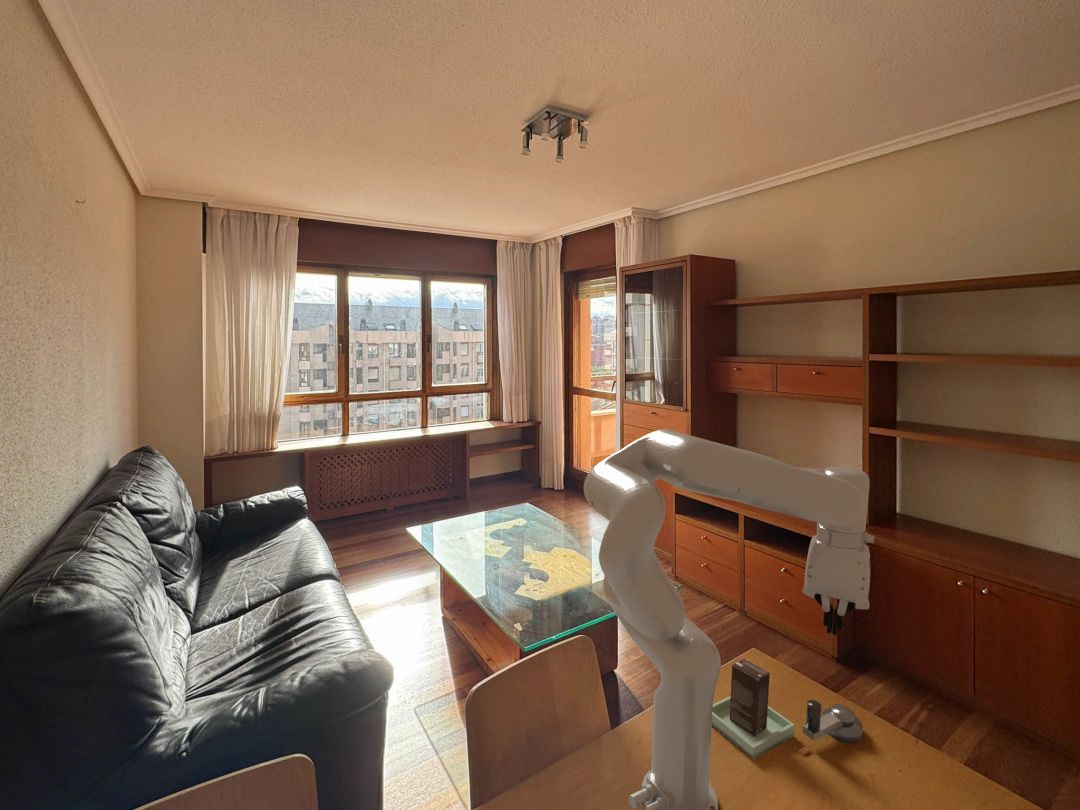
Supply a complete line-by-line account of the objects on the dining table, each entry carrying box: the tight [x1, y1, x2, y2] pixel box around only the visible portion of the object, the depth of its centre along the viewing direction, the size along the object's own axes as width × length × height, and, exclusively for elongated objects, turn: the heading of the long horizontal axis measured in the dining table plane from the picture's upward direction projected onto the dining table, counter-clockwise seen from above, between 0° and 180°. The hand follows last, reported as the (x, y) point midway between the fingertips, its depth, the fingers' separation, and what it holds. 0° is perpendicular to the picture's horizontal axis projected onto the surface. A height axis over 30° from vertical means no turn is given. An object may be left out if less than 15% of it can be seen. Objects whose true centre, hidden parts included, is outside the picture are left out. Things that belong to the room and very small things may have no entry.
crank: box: [802, 699, 856, 741], centre depth 102 cm, size 12×4×6 cm, turn 116°
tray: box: [712, 695, 795, 761], centre depth 105 cm, size 12×12×2 cm
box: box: [730, 658, 771, 736], centre depth 105 cm, size 6×4×12 cm
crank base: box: [798, 707, 863, 756], centre depth 102 cm, size 16×7×2 cm, turn 119°
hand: (832, 630), depth 96 cm, fingers closed
